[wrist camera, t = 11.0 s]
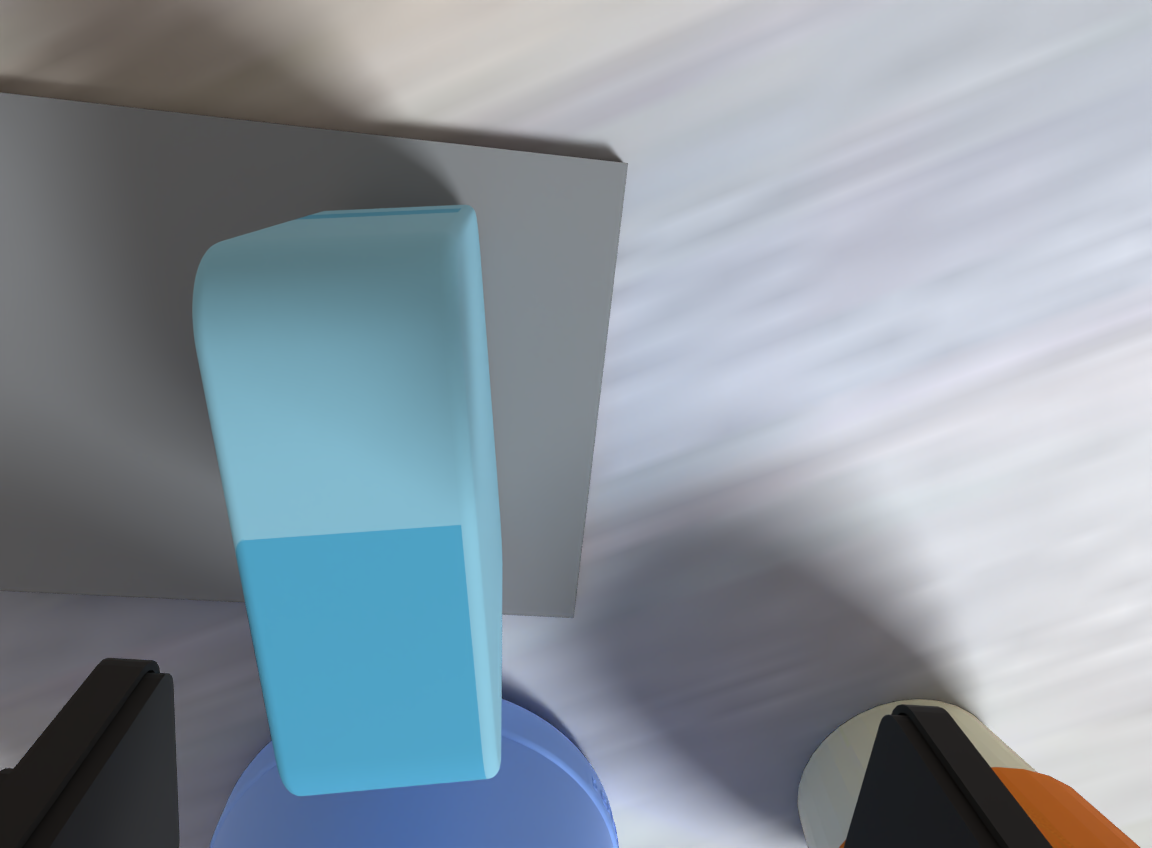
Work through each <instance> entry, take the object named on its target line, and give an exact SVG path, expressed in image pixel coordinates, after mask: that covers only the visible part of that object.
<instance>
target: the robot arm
mask: <svg viewBox="0 0 1152 848" xmlns="http://www.w3.org/2000/svg"><path fill="white" fill-rule="evenodd" d="M0 848H179V817H178V791H177V766H176V740H175V715H174V689H173V679H172V676H171V675H170V674H166V673H160V671H159V666H158V664H157V662H155V661H152V660H135V659H118V658H107V659H103V660H102V661H101V662H100V663H99V664H98V665H97V666H96V668H95V669H94V670H93V671H92V673H91V674H90V675H89V676H88V678H87V679H86V680H85V681H84V682H83V684H82V685H81V686H80V687H79V689H78V690H77V691H76V692H75V694H74V695H73V696H72V697H71V699H70V700H69V701H68V702H67V703H66V705H65V706H64V707H63V708H62V710H61V711H60V712H59V713H58V715H57V716H56V717H55V718H54V720H53V721H52V722H51V723H50V724H49V726H48V727H47V728H46V729H45V731H44V732H43V733H42V734H41V736H40V737H39V738H38V739H37V741H36V742H35V743H34V744H33V745H32V747H31V748H30V749H29V750H28V752H27V753H26V754H25V755H24V757H23V758H22V759H21V760H20V762H19V763H18V764H17V765H16V766H15V768H14V769H11V768H6V769H4V770H1V771H0ZM844 848H1053V847H1052V846H1051V844H1050V843H1049V842H1048V840H1047V839H1046V838H1045V837H1044V835H1043V834H1042V833H1041V831H1040V830H1039V829H1038V828H1037V826H1036V825H1035V824H1034V822H1033V821H1032V820H1031V818H1030V817H1029V816H1028V815H1027V813H1026V812H1025V811H1024V809H1023V808H1022V807H1021V806H1020V804H1019V803H1018V802H1017V800H1016V799H1015V798H1014V797H1013V795H1012V794H1011V793H1010V791H1009V790H1008V789H1007V788H1006V786H1005V785H1004V784H1003V782H1002V781H1001V780H1000V779H999V777H998V776H997V775H996V773H995V772H994V771H993V769H992V768H991V767H990V766H989V764H988V763H987V762H986V760H985V759H984V758H983V757H982V755H981V754H980V753H979V751H978V750H977V749H976V748H975V746H974V745H973V744H972V742H971V741H970V740H969V739H968V737H967V736H966V735H965V733H964V732H963V731H962V730H961V728H960V727H959V726H958V724H957V723H956V722H955V720H954V719H953V718H952V717H951V715H950V714H949V713H948V712H947V711H946V710H945V709H944V708H941V707H939V706H923V705H906V704H901V705H897V706H896V707H895V708H894V709H893V711H892V714H891V715H889V714H888V715H885V716H884V717H883V718H882V719H881V722H880V724H879V728H878V731H877V734H876V738H875V741H874V745H873V748H872V752H871V755H870V758H869V762H868V765H867V769H866V772H865V776H864V779H863V783H862V786H861V789H860V793H859V796H858V800H857V803H856V807H855V810H854V813H853V817H852V820H851V824H850V827H849V831H848V834H847V838H846V841H845V844H844Z"/></svg>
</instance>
